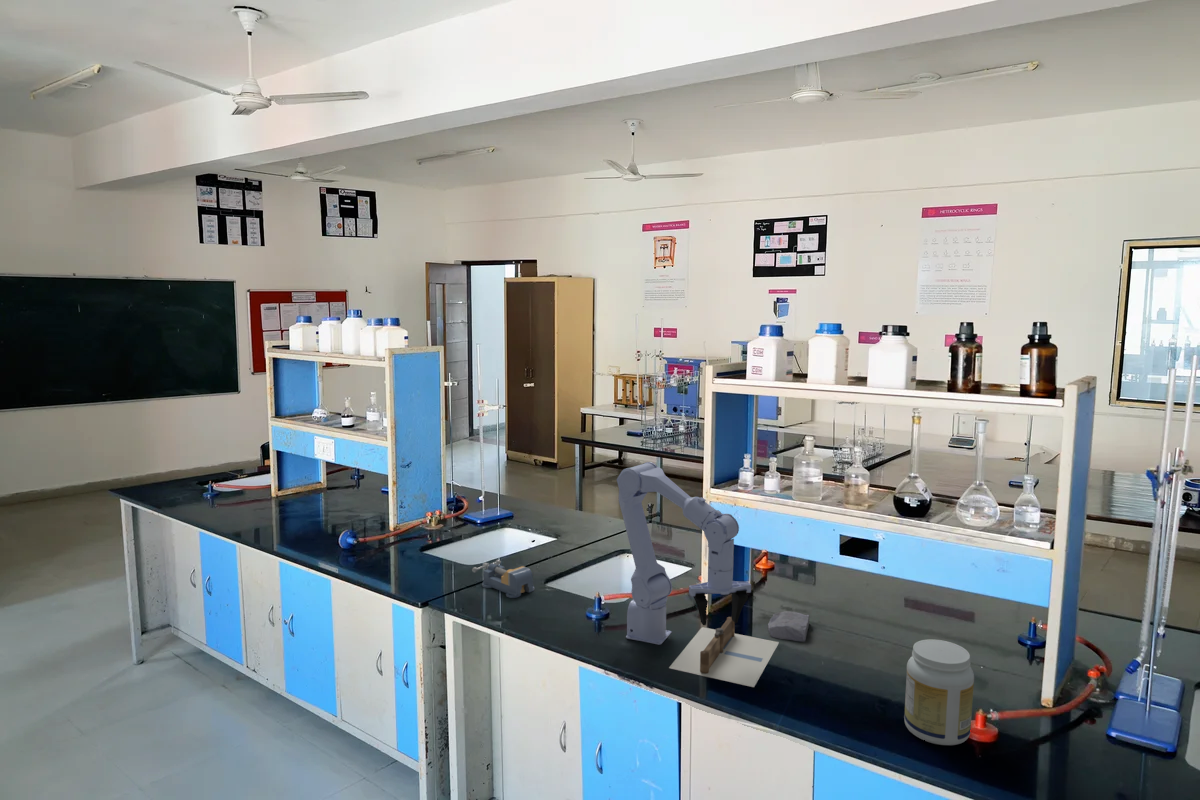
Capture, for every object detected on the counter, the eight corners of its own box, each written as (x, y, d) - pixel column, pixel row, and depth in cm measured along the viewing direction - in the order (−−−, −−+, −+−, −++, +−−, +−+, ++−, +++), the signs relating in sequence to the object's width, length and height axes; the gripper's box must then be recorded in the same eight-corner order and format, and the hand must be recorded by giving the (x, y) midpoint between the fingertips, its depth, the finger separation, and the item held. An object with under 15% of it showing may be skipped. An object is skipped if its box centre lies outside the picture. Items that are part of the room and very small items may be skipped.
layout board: (668, 669, 180) (668, 667, 180) (702, 628, 201) (702, 626, 201) (753, 688, 171) (753, 687, 171) (779, 643, 192) (779, 642, 192)
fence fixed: (713, 652, 187) (714, 633, 187) (727, 633, 197) (728, 615, 197) (721, 653, 186) (722, 635, 186) (735, 634, 197) (735, 617, 196)
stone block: (768, 646, 195) (808, 644, 192) (764, 627, 195) (805, 625, 192) (773, 628, 207) (811, 626, 203) (770, 610, 206) (808, 608, 203)
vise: (538, 589, 227) (537, 567, 226) (511, 600, 220) (510, 577, 219) (498, 574, 240) (498, 553, 239) (471, 583, 232) (471, 562, 231)
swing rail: (716, 648, 189) (716, 627, 188) (724, 649, 188) (724, 629, 187) (698, 672, 177) (699, 650, 176) (707, 674, 176) (707, 652, 176)
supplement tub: (951, 713, 161) (957, 636, 159) (982, 747, 149) (988, 664, 147) (893, 714, 161) (898, 637, 158) (919, 749, 149) (924, 666, 146)
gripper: (695, 575, 175) (694, 632, 177) (756, 571, 178) (754, 627, 180) (686, 564, 182) (685, 618, 184) (745, 560, 185) (743, 614, 187)
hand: (719, 622), depth 183 cm, fingers open, 7 cm apart
